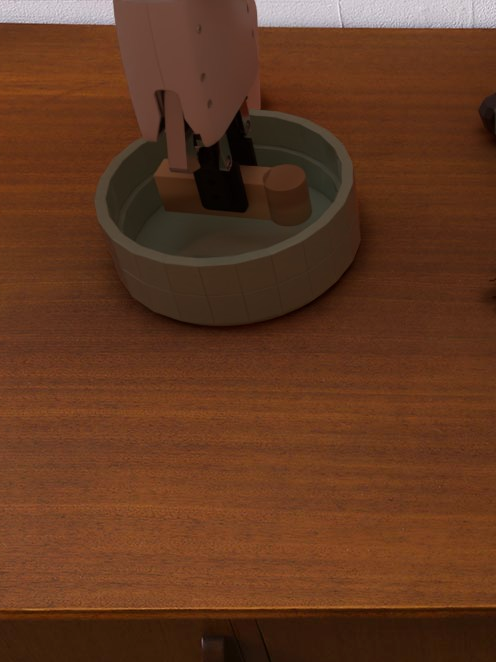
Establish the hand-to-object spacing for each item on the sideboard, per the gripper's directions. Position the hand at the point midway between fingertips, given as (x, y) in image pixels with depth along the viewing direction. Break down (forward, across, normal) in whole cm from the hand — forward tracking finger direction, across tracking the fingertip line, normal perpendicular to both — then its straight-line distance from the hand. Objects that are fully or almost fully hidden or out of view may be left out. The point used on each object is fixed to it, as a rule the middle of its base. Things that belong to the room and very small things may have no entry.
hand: (232, 195), depth 71 cm
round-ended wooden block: (+1, 0, 0) cm, 1 cm away
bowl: (+5, 0, 0) cm, 5 cm away
